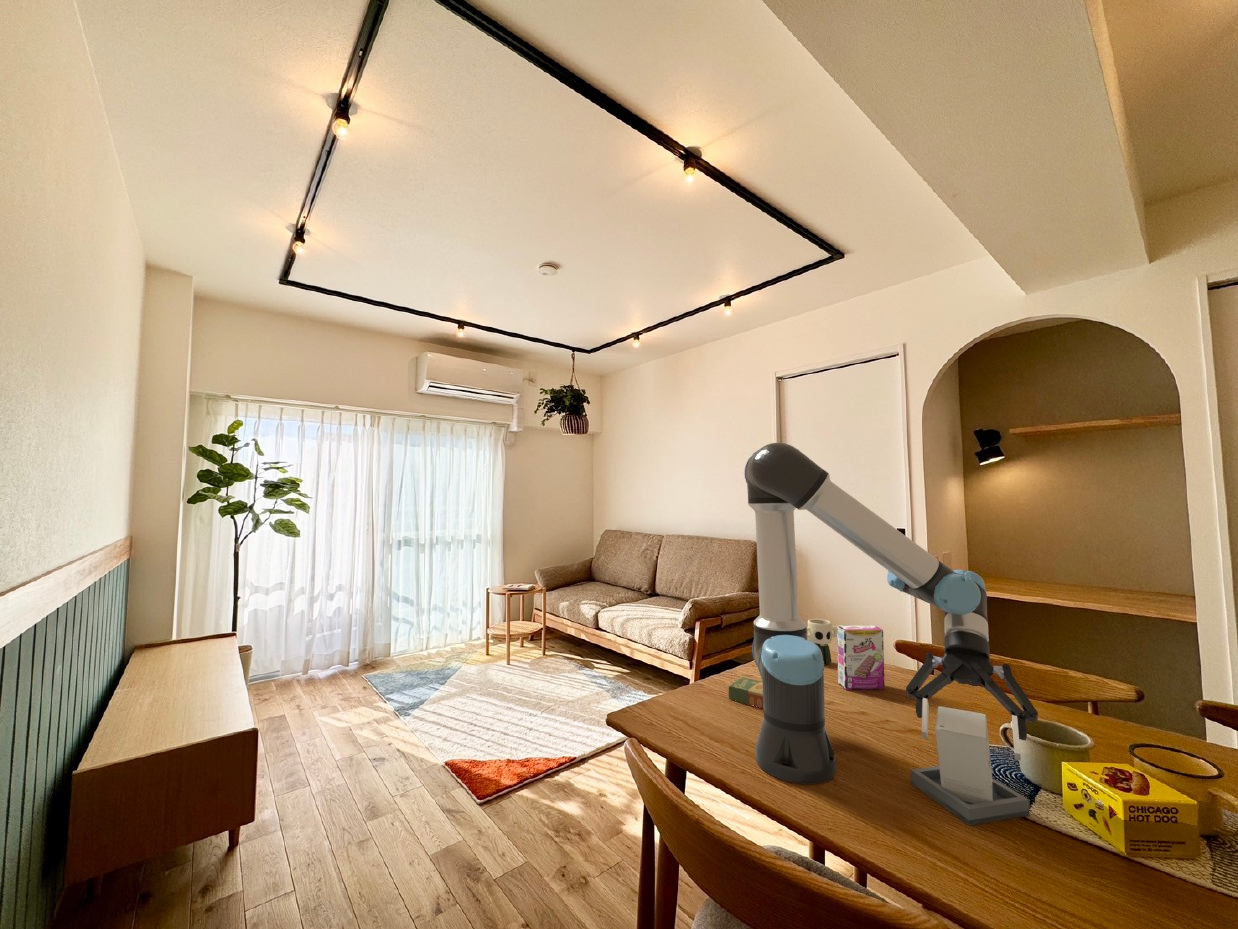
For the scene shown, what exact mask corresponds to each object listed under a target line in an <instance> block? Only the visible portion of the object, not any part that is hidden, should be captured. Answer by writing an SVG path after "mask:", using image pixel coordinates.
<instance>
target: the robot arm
mask: <svg viewBox="0 0 1238 929" xmlns="http://www.w3.org/2000/svg"><path fill="white" fill-rule="evenodd" d="M744 479H745V482H746V484H747V485H746V486H747V487H746V488H747V505H748V506H749V507H750V508H751V509H753V511H754V514H755V516H754V517H755V518H754V519H755V535H756V536H755V538H756V555H757V556H756V557H757V558H756V559H757V560H756V561H757V577H758V578H757V579H758V583H757V584H758V599H759V601H758V603H759V615H758V616H757V617H756V618H755V619H754V620H753V642H752V648H751V649H752V650H751V652H752V657H753V660H754V663H755V664H756V667H757V670H758V672H759V675H760V678H761V682H763V709H764V710H763V709H762V710H763V720H762V723H761V727H760V731H759V733H758V737H757V740H756V744H755V761H756V763H757V765H758V766H759V767H760V769H761V770H763V771H764V772H766V773H767V774H768V775H770V776H772V777H775V778H777V779H780V780H782V781H785V782H789V783H793V784H799V785H800V784H801V785H816V784H817V785H818V784H823V783H826V782H828V781H831V780H832V779H833V778H834V777H835V775H836V774H837V758H836V754H835V751H834V749H833V746H832V743H831V740H830V737H829V734H828V732H827V728H826V714H825V713H826V710H825V708H826V706H825V705H826V704H825V677H824V675H825V673H824V671H825V663H824V661H823V657H822V652H821V650H820V648H819V647H818V646H817V645H816V644H815V643H813V642H812V641H810V640H809V639H808V638H807V635H808V630H807V627H808V624H807V623H806V622H805V621H804V620H803V619H802V618H801V617H800V614H799V613H800V612H799V610H800V608H799V591H798V575H797V574H798V572H797V552H796V551H797V550H796V534H795V532H796V531H795V514H794V513H795V512H794V511H795V510H796V509H797V510H799V511H804V510H806V511H808V512H809V513H810V514H812V515H813V516H814V517H816V518H817V519H819V521H821V522H822V523H823V524H825V525H827V527H828V528H831V529H832V530H834V532H836V533H837V534H838V535H840V536H841V537H842V538H844V539H845V540H847V541H848V542H849V543H851V544H852V545H854V547H856V548H857V549H859V550H860V551H861V552H863V553H864V554H866V556H868V557H869V558H871V559H872V560H874V561H875V562H876V563H877V564H879V565H880V566H881V567H883V568H884V569H885V570H887V576H886V580H887V584H888V585H889V586H890V587H892V588H895V589H896V590H898V591H899V592H900V593H901V592H902V593H905V594H907V595H910V596H912V597H914V598H916V599H919V600H921V601H923V602H924V603H927V604H930V605H932V606H934V607H936V608H938V609H939V610H941V611H943V612H944V613H943V614H944V625H943V626H944V634H943V635H944V646H943V648H944V652H943V656H942V657H939V656H935V655H934V654H933V653H932V652H927V653H926V655H925V659H924V663H923V664H922V665H921V666H920V668H919V669H918V670H917V672H916V673H915V675H914V676H913V677H912V679H911V680H910V682H909V683H908V684H907V685H906V687H905V691H906V695H907V697H908V698H910V699H914V700H915V714H916V717H917V718H918V719H921V734H922V738H923V739H925V740H926V739H927V740H928V739H929V714H930V713H929V708H930V707H929V701H928V700H929V699H930V698H932V697H933V696H935V695H936V694H937V693H939V691H941V690H942V689H943V688H944V687H946V686H948V685H951V684H952V683H953V682H957V684H961V685H969V686H972V687H979V686H982V687H983V688H984V689H985V690H986V691H987V692H989V693H990V694H991V695H992V696H993V697H994V698H995V699H996V700H997V701H998V702H999V704H1001V706H1002V707H1003V708H1004V709H1005V710H1006V711H1007V712H1008V713H1009V714H1010V715H1011V725H1012V736H1013V738H1012V739H1013V750H1014V751H1013V752H1014V760H1017V761H1022V760H1021V758H1022V757H1021V744H1020V741H1027V739H1028V731H1027V730H1028V729H1027V723H1028V722H1032V723H1036V722H1038V718H1039V717H1038V716H1039V713H1038V710H1037V709H1036V707H1035V706H1034V704H1033V703H1032V702H1031V700H1030V699H1029V697H1028V695H1026V694H1025V692H1024V690H1023V688H1021V685H1019V683H1018V681H1017V680H1016V678H1015V677H1014V676H1013V673H1012V668H1011V665H1009V664H1008V663H1004V664H1002V665H993V664H992V662H991V655H990V654H991V653H990V643H989V641H990V639H989V622H988V593H987V590H986V584H985V580H984V579H983V578H982V576H980V575H979V574H978V573H976V572H974V571H971V570H967V571H965V570H963V569H955V570H953V569H951V568H950V567H949V566H948V565H946V564H944V563H943V562H941V560H940V559H937V558H936V557H935V556H933V555H932V554H931V553H929V551H927V550H925V549H924V548H923V547H922V546H920V545H919V544H917V543H916V542H915V541H913V540H912V539H910V538H909V537H908V536H906V535H905V534H903V533H902V532H901V531H899V529H897V528H895V527H894V526H893V525H891V524H890V523H889V522H888V521H886V520H885V519H883V518H882V517H880V516H879V515H878V514H876V513H875V512H874V511H872V510H871V509H870V508H868V507H867V506H865V505H864V504H863V503H861V502H860V501H858V500H857V499H856V498H854V497H853V496H852V495H851V494H849V493H848V492H847V491H845V490H844V489H842V488H841V487H840V486H838V485H837V484H835V483H834V482H832V481H831V477H830V473H829V472H828V471H826V470H825V469H823V468H822V467H821V466H819V465H818V464H817V463H816V462H815V461H814V460H812V459H811V458H809V457H808V456H807V455H806V454H805V453H804V452H802V451H801V450H799V449H798V448H796V447H795V446H793V445H791V444H788V443H784V442H772V443H769V444H765V445H764V446H762V447H761V448H759V449H757V450H756V451H755V452H753V453H752V454H751V455H750V457H749V458H748V460H747V461H746V464H745V467H744ZM940 665H941V666H942V667H943V668H944V669H943V670H942V671H941V673H940V674H939V675H937V676H936V677H934V678H933V679H932V680H930V681H929V682H928V683H927V684H925V685H924V683H925V682H926V680H928V678H929V677H930V675H931V673H932V672H933V669H936V668H938V666H940ZM994 674H996V675H998V677H999V678H1000V679H1001V680H1004V682H1005V684H1006V686H1007V688H1008V689H1009V691H1010V692H1011V693H1012V695H1013V697H1014V698H1015V700H1016V701H1017V703H1018V704H1019V706H1018V704H1016V703H1015V702H1014V701H1013V699H1012V698H1010V697H1009V695H1008V694H1006V692H1005V691H1004V690H1003V689H1002V688H1000V686H999V685H998V684H997V683H996V682H995V680H994V679H993V678H992V675H994ZM923 685H924V686H923ZM922 686H923V687H922ZM1020 707H1021V708H1020Z"/></svg>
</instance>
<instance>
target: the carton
mask: <svg viewBox="0 0 1238 929" xmlns="http://www.w3.org/2000/svg"><path fill="white" fill-rule="evenodd" d="M729 699H731V700H730V701H732V700H736V701H739V702H742V703H741V704H743V703H745V704H744V705H746V704H748V705H747V706H750V705H754V706H757V707H759V708H758V709H760V708H762V709H761V710H763V682H762V680H757V679H752V678H748V677H744V676H742V677H740V678H739V679H737V680H736V681H734V682H733V683H731V684H729V685H728V700H729ZM736 701H735V702H736ZM739 702H738V703H739ZM757 707H756V708H757Z"/></svg>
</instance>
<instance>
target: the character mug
mask: <svg viewBox="0 0 1238 929" xmlns="http://www.w3.org/2000/svg"><path fill="white" fill-rule="evenodd" d="M833 638H837V626H833V625H832V622H831V621H829V620H827V619H823V618H822V619H821V618H811V619H808V620H807V640H810V641H812V642H813V643H815V644H816V645H817V646H818V647H819V648H820V650H821V652H822V657H823V661H824V664H826V665H830V664H832V656H831V650H830V646H829V644H831V643H832V641H833Z"/></svg>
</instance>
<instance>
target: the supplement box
mask: <svg viewBox="0 0 1238 929" xmlns="http://www.w3.org/2000/svg"><path fill="white" fill-rule="evenodd" d="M987 723H988V722H987V714H984V713H981V712H977V711H975V712H974V711H971V710H970V711H969V710H964V709H957V708H951V707H947V706H946V707H945V706H940V705H938V706H937V711H936V720H935V727H934V731H935V740H936V741H935V742H936V749H937V750H936V751H937V759H938V760H937V761H938V766H939V769H940V778H941V787H943V788H944V789H946V790H947V791H949V792H950V793H952V794H953V795H955V796H956V797H958V798H959V799H961V800H962V801H966V802H969V803H973V804H977V803H983V802H989V801H993V795H992V781H993V779H994V778H993V771H992V770H993V769H992V761H991V750H990V740H989V730H988V724H987ZM992 778H993V779H992Z"/></svg>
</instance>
